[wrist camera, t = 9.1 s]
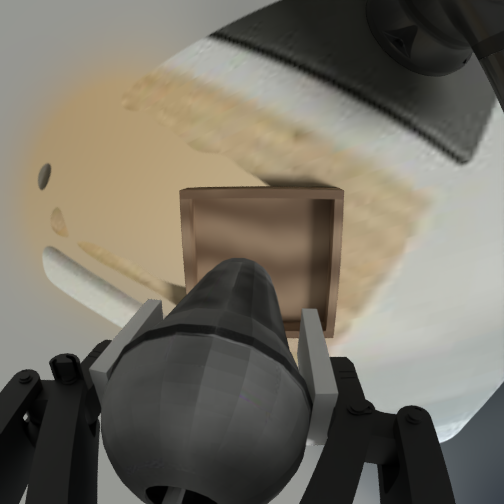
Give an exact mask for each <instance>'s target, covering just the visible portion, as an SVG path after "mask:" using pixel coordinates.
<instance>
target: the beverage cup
mask: <svg viewBox="0 0 504 504" xmlns="http://www.w3.org/2000/svg"><path fill="white" fill-rule="evenodd" d="M312 408H313V403H312V399H311V396H310V393H309V390H308V387H307V384H306V381H305V379H304V378H303V377H302V376H301V375H300V373H299V370H298V367H297V365H296V363H295V360H294V358H293V356H292V354H291V352H290V350H289V346H288V341H287V337H286V333H285V328H284V324H283V320H282V315H281V311H280V307H279V302H278V298H277V294H276V291H275V288H274V285H273V283H272V280H271V277H270V275H269V274H268V273H267V271H266V270H265V269H264V267H262V266H261V265H259V264H258V263H256V262H255V261H252V260H249V259H246V258H231V259H228V260H224V261H222V262H221V263H219V264H218V265H216V266H215V267H214V268H213V269H212V270H211V271H209V272H208V273H207V274H206V275H205V276H204V277H203V278H202V279H201V280H200V281H199V282H198V283H197V284H196V285H195V286H194V288H193V289H192V290H191V291H190V292H189V293H188V294H187V295H186V296H185V297H184V298H183V299H182V300H181V302H180V303H179V304H178V305H177V306H176V307H175V308H174V309H173V310H172V311H171V312H170V313H169V314H168V316H167V317H166V318H165V319H164V320H162V321H161V322H160V323H158V324H157V325H155V326H154V327H152V328H151V329H149V330H148V331H146V332H145V333H143V334H142V335H140V336H139V337H137V338H136V339H134V340H133V341H131V342H130V343H128V344H127V345H125V346H124V348H123V349H122V351H121V353H120V354H119V356H118V358H117V360H116V361H115V363H114V365H113V367H112V370H111V375H110V380H109V381H108V383H107V385H106V388H105V391H104V394H103V398H102V408H101V433H102V439H103V445H104V448H105V450H106V453H107V456H108V458H109V460H110V462H111V464H112V466H113V468H114V470H115V472H116V473H117V475H118V476H119V478H120V479H121V481H122V482H123V483H124V484H125V485H126V486H127V487H128V488H129V489H130V490H131V491H132V492H133V493H134V494H135V495H136V496H137V497H138V498H139V499H140V500H141V501H143V502H144V503H146V504H268V503H269V502H270V501H271V500H273V499H274V498H275V497H276V496H277V495H278V494H279V493H280V492H281V491H282V490H283V488H284V487H285V486H286V485H287V483H288V482H289V481H290V480H291V478H292V477H293V476H294V474H295V473H296V472H297V470H298V468H299V466H300V463H301V462H302V459H303V456H304V452H305V447H306V442H307V436H308V432H309V427H310V421H311V415H312Z"/></svg>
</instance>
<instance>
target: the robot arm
mask: <svg viewBox="0 0 504 504" xmlns="http://www.w3.org/2000/svg"><path fill="white" fill-rule="evenodd" d="M366 15H367V20H368V24H369V27H370V29H371V31H372V33H373V35H374V37H375V39H376V40H377V42H378V43H379V44H380V46H381V47H382V48H383V49H384V50H385V51H386V52H387V53H388V54H389V55H390V56H391V57H392V58H393V59H394V60H396V61H397V62H398V63H400V64H401V65H403V66H404V67H406V68H408V69H410V70H412V71H414V72H417V73H419V74H423V75H427V76H444V75H448V74H450V73H453V72H455V71H457V70H459V69H461V68H462V67H463V66H464V65H465V64H466V63H467V62H468V61H469V59H470V57H471V55H472V53H473V52H474V53H475V55H476V57H477V59H478V61H479V62H480V64H481V66H482V68H483V70H484V72H485V74H486V76H487V78H488V80H489V82H490V84H491V86H492V88H493V90H494V92H495V94H496V96H497V99H498V101H499V103H500V105H501V108H502V110H503V112H504V0H368V1H367V6H366ZM501 50H502V51H501ZM499 51H500V52H499ZM496 52H497V53H496ZM494 53H495V54H494ZM491 54H492V55H491ZM489 55H490V56H489ZM484 57H485V58H484ZM482 58H483V59H482ZM162 320H163V312H162V301H161V300H152V299H148V300H147V301H146V302H145V303H144V304H143V306H142V307H141V308H140V309H139V310H138V311H137V313H136V314H135V315H134V316H133V317H132V318H131V319H130V321H129V322H128V323H127V324H126V325H125V326H124V328H123V329H122V330H121V331H120V332H119V334H118V335H117V336H116V337H115V338H114V339H113V341H112V340H104V341H103V342H101V343H99V344H98V345H97V346H96V347H95V348H94V349H93V350H92V352H90V353H89V355H88V356H87V357H86V358H85V359H84V360H83V361H82V363H81V364H80V360H79V358H78V357H77V356H76V355H74V354H68V353H67V354H60V355H57V356H55V357H54V358H52V359H51V360H50V362H49V364H50V367H51V370H52V373H53V376H54V379H55V380H41V379H40V376H39V374H38V373H37V372H36V371H34V370H30V369H28V370H27V369H26V370H22V371H20V372H18V373H16V374H15V375H14V377H13V378H12V379H11V380H10V381H9V382H8V384H7V385H6V386H5V387H4V389H3V390H2V391H1V392H0V504H19V503H20V500H21V498H22V496H23V494H24V492H25V489H26V487H27V485H28V490H27V495H26V502H25V504H97V473H98V471H97V470H98V449H99V432H100V422H99V420H98V416H99V415H100V413H101V408H102V398H103V394H104V391H105V388H106V385H107V383H108V381H109V380H110V375H111V370H112V367H113V365H114V363H115V361H116V360H117V358H118V356H119V354H120V353H121V351H122V349H123V348H124V346H125V345H127V344H128V343H130V342H131V341H133V340H134V339H136V338H137V337H139V336H140V335H142V334H143V333H145V332H146V331H148V330H149V329H151V328H152V327H154V326H155V325H157V324H158V323H160V322H161V321H162ZM297 356H298V367H299V373H300V375H301V376H302V377H303V378H304V379H305V381H306V384H307V387H308V390H309V393H310V396H311V399H312V403H313V408H312V415H311V421H310V427H309V432H308V436H307V442H306V445H325V446H324V448H323V451H322V453H321V456H320V458H319V461H318V463H317V465H316V468H315V470H314V472H313V475H312V477H311V479H310V482H309V484H308V486H307V488H306V491H305V493H304V495H303V497H302V499H301V501H300V503H299V504H352V503H353V500H354V497H355V493H356V490H357V486H358V483H359V479H360V476H361V472H362V469H363V465H364V462H367V463H374V464H377V468H378V479H379V490H380V504H456V503H455V499H454V495H453V491H452V487H451V483H450V479H449V475H448V472H447V468H446V465H445V461H444V457H443V454H442V451H441V447H440V444H439V441H438V437H437V434H436V431H435V428H434V425H433V422H432V419H431V416H430V414H429V413H428V412H427V411H426V410H425V409H423V408H421V407H418V406H412V405H410V406H405V407H403V408H401V409H400V410H399V411H398V413H397V414H390V413H384V412H380V411H377V410H375V407H374V406H373V404H372V403H371V402H369V401H368V400H366V399H365V396H364V393H363V390H362V387H361V384H360V382H359V379H358V376H357V373H356V370H355V367H354V364H353V363H352V362H351V361H350V360H349V359H348V358H347V357H329V353H328V350H327V346H326V342H325V338H324V334H323V330H322V327H321V323H320V319H319V315H318V312H317V309H304V308H302V312H301V322H300V332H299V342H298V351H297ZM25 414H27V416H28V418H27V419H26V420H24V419H23V417H24V415H25ZM327 436H328V438H327ZM326 440H327V441H326Z"/></svg>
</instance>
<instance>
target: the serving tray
mask: <svg viewBox="0 0 504 504" xmlns="http://www.w3.org/2000/svg"><path fill="white" fill-rule="evenodd" d="M343 206H344V190H342V189H340V188H329V187H271V186H260V187H259V186H258V187H198V188H186V189H183V190H180V212H181V228H182V229H181V230H182V245H183V259H184V272H185V284H186V295H187V294H188V293H189V292H190V291H191V290H192V289H193V288H194V286H195V285H196V284H197V283H198V282H199V281H200V280H201V279H202V278H203V277H204V276H205V275H206V274H207V273H208V272H209V271H211V270H212V269H213V268H214V267H215V266H216V265H218V264H219V263H221V262H222V261H224V260H228V259H231V258H246V259H249V260H252V261H255V262H256V263H258V264H259V265H261V266H262V267H264V269H265V270H266V271H267V273H268V274H269V275H270V277H271V280H272V283H273V285H274V288H275V291H276V294H277V298H278V302H279V307H280V311H281V315H282V320H283V324H284V328H285V333H286V337H287V338H299V332H300V322H301V312H302V308H304V309H317V312H318V315H319V319H320V323H321V327H322V330H323V334H324V338H333V335H334V327H335V318H336V308H337V298H338V287H339V275H340V262H341V247H342V229H343Z"/></svg>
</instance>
